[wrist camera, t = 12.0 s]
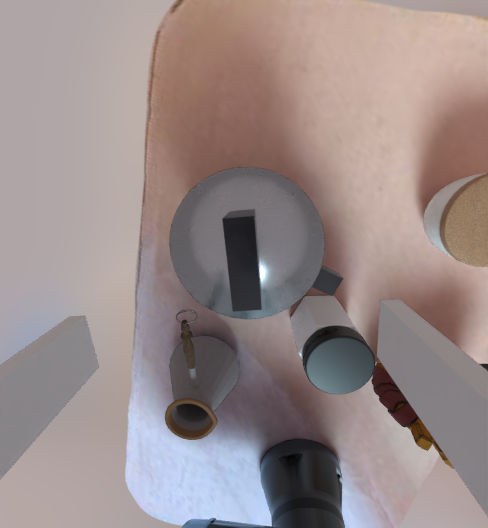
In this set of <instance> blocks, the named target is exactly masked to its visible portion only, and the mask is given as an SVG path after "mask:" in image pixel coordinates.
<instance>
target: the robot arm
mask: <svg viewBox="0 0 488 528" xmlns="http://www.w3.org/2000/svg"><path fill="white" fill-rule="evenodd" d="M377 357H378V359H379V360H380V362H381V363H382V365H383V366H384V367H385V369H386V370H387V372H388V373H389V375H390V376H391V378H392V379H393V380H394V382H395V383H396V385H397V386H398V388H399V389H400V391H401V392H402V393H403V395H404V396H405V398H406V399H407V401H408V402H409V404H410V405H411V406H412V408H413V409H414V411H415V412H416V414H417V415H418V417H419V418H420V419H421V421H422V422H423V424H424V425H425V427H426V428H427V430H428V431H429V432H430V434H431V435H432V437H433V438H434V440H435V441H436V443H437V444H438V446H439V447H440V448H441V450H442V451H443V453H444V454H445V456H446V457H447V459H448V460H449V461H450V463H451V464H452V466H453V467H454V469H455V470H456V471H457V473H458V474H459V476H460V477H461V479H462V480H463V481H464V483H465V485H466V486H467V487H468V489H469V490H470V492H471V493H472V494H473V496H474V498H475V499H476V500H477V502H478V503H479V504H480V506H481V507H482V509H483V511H484V512H485V513H486V515H487V516H488V364H478V363H477V362H476V361H475V360H474V359H472V358H471V357H470V356H469V355H467V354H466V353H465V352H464V351H462V350H461V349H460V348H459V347H458V346H456V345H455V344H454V343H453V342H451V341H450V340H449V339H448V338H446V337H445V336H444V335H443V334H441V333H440V332H439V331H438V330H437V329H435V328H434V327H433V326H432V325H430V324H429V323H428V322H427V321H425V320H424V319H423V318H422V317H421V316H419V315H418V314H417V313H416V312H414V311H413V310H412V309H411V308H409V307H408V306H407V305H406V304H404V303H403V302H402V301H401V300H400V299H393V300H380V314H379V329H378V344H377ZM98 368H99V364H98V360H97V356H96V353H95V349H94V345H93V342H92V339H91V335H90V331H89V327H88V324H87V320H86V317H85V316H70V317H68V318H67V319H65V320H64V321H62V322H61V323H59V324H58V325H57V326H55V327H54V328H52V329H51V330H49V331H48V332H47V333H45V334H44V335H42V336H41V337H39V338H38V339H37V340H35V341H34V342H32V343H31V344H29V345H28V346H27V347H25V348H24V349H22V350H21V351H19V352H18V353H17V354H15V355H14V356H12V357H11V358H9V359H8V360H6V361H5V362H4V363H2V364H1V365H0V480H1V479H2V477H3V476H4V475H5V474H6V473H7V472H8V471H9V469H10V468H11V467H12V466H13V465H14V463H16V461H17V460H18V459H19V458H20V457H21V456H22V455H23V453H24V452H25V451H26V450H27V449H28V448H29V447H30V445H31V444H32V443H33V442H34V441H35V440H36V439H37V437H38V436H39V435H40V434H41V433H42V432H43V430H44V429H45V428H46V427H47V426H48V425H49V424H50V422H51V421H52V420H53V419H54V418H55V416H57V415H58V413H59V412H60V411H61V410H62V409H63V408H64V407H65V405H66V404H67V403H68V402H69V401H70V400H71V398H72V397H73V396H74V395H75V394H76V393H77V392H78V391H79V389H80V388H81V387H82V386H83V385H84V384H85V383H86V381H87V380H88V379H89V378H90V377H91V376H92V374H93V373H94V372H95V371H96V370H97V369H98ZM261 484H262V488H263V490H264V493H265V497H266V500H267V504H268V507H269V510H270V513H271V517H272V527H271V526H261V525H253V524H246V523H238V522H230V521H222V520H216V519H215V518H211V519H209V520H205V519H191V520H189V521H187V522H186V523H185V524H184V525H183V526H182V528H345V525H344V521H343V517H342V474H341V470H340V467H339V463H338V460H337V458H336V456H335V455H334V454H333V453H332V452H331V451H330V450H329V449H328V448H327V447H325V446H323V445H321V444H319V443H317V442H313V441H309V440H290V441H286V442H282V443H280V444H278V445H276V446H274V447H273V448H271V449H270V450H269V451H268V452H267V453H266V454H265V456H264V457H263V459H262V462H261Z"/></svg>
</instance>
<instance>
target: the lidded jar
mask: <svg viewBox="0 0 488 528" xmlns="http://www.w3.org/2000/svg"><path fill="white" fill-rule="evenodd" d="M423 224H424V230H425V233H426V235H427V237H428V239H429V240H430V242H431V243H432V244H433V245H434V246H435V247H436V248H437V249H438V250H440V251H442V252H443V253H445V254H446V255H448V256H450V257H453V258H455V259H457V260H458V261H460V262H463V263H465V264H468V265H472V266H476V267H488V173H485V174H477V175H472V176H468V177H464V178H461V179H459V180H456V181H454V182H452V183H450V184H448V185H447V186H445V187H444V188H442V189H441V190H440V191H438V192H437V193H436V194H435V195H434V197H433V198H432V199H431V200H430V202H429V204H428V205H427V208H426V210H425V213H424V220H423Z"/></svg>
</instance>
